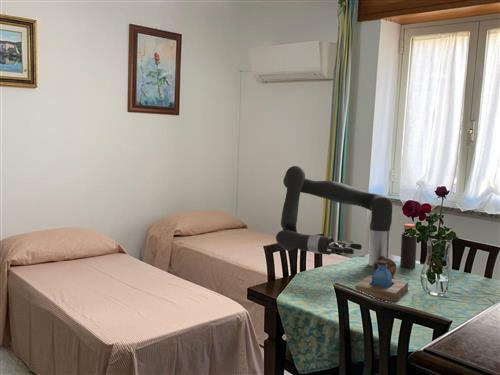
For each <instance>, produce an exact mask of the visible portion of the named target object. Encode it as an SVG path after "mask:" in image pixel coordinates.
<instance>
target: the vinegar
mask: <svg viewBox="0 0 500 375" xmlns="http://www.w3.org/2000/svg"><path fill="white" fill-rule="evenodd" d="M409 228H412V229H414V228H415V229H416V224H414V223H404V224H403V230H404V231H403V233H402V234H401V241H400V267H401V268H403V269H414V268H416V264H417V263H416V261H417V260H416V259H417V243H418V236H412V237H407V236H405V232H406V229H409Z"/></svg>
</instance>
